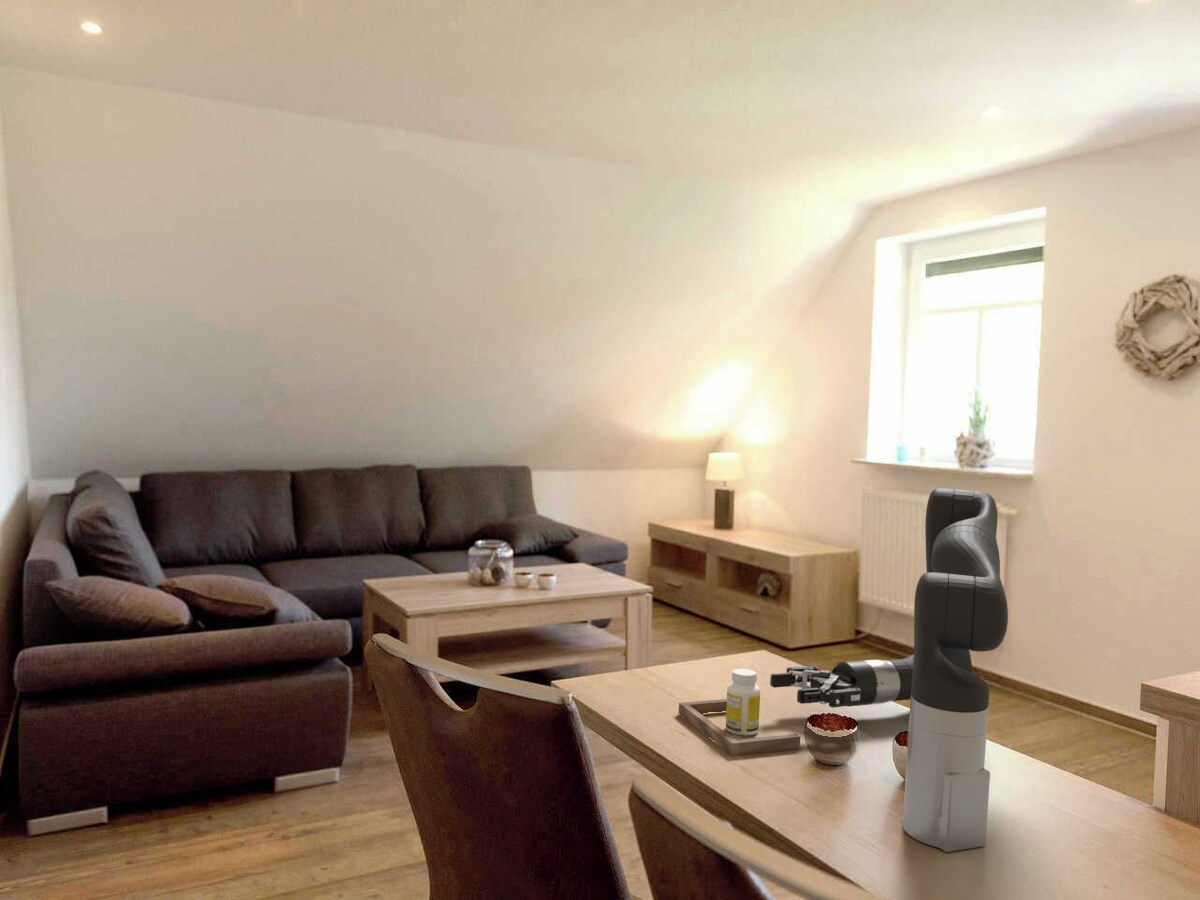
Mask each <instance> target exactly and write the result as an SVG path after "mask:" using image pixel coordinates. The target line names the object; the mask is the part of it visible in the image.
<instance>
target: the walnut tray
mask: <svg viewBox="0 0 1200 900" xmlns="http://www.w3.org/2000/svg"><path fill="white" fill-rule="evenodd" d="M726 705H727V698H721V699H713V700H712V699H710V700H699V701H698V700H697V701H688V702H687V701H686V702H678V715H679V714H680V715H681V716H682V717H684V718H683V719H684V720H685V719H686V720H687V721H686V720H685V721H686V722H687V723H689V724H690V723H691V724H692V725H691V724H690V725H691V726H693V727H694V728H695V727H696V728H697V730H698V731H699V730H700V731H701V732H700V731H699V732H700V733H702V732H703V733H704V734H705V735H707V736H708V737H710V738H711V739H712V740H714V741H715V742H716V743H717V744H718V745H719V746H720V747H719V746H718V745H717V744H716V743H715V744H716V745H717V746H718V747H719V748H720V749H722V750H723V749H724V750H725V752H726V753H727V754H728V755H729V756H731V757H738V756H745V755H746V756H747V755H755V754H757V755H758V754H765V753H774V752H775V753H776V752H784V751H785V752H786V751H793V750H794V751H795V750H800V749H801V736H800V735H799V734H797V733H790V734H781V735H780V734H779V735H773V736H772V735H771V736H770V735H769V736H762V737H761V736H760V737H751V738H742V739H741V738H740V739H735V738H734V737H732V736H731V735H730V734H728V733H727V732H725V731H724V730H723V729H721V728H720V727H719V726H718V725H716V724H715V723H714V722H713V721H711V720H709V719H708V718H707V717H706V716H704V715H702V714H703V713H708V712H722V711H726ZM680 715H679V716H680ZM681 716H680V717H681ZM682 717H681V718H682ZM696 728H695V729H696ZM703 733H702V734H703ZM704 734H703V735H704ZM705 735H704V736H705ZM707 736H706V737H707ZM708 737H707V738H708ZM712 740H711V741H712ZM724 750H723V751H724Z"/></svg>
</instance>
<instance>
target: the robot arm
mask: <svg viewBox="0 0 1200 900" xmlns="http://www.w3.org/2000/svg"><path fill="white" fill-rule="evenodd" d="M997 508H998V507H997V504H996V501H995V499H994V497H993V496H992V495H991V494H990V493H987V492H984V491H979V490H968V489H967V490H966V489H959V488H958V489H957V488H955V489H954V488H947V487H946V488H944V487H940V488H939V487H937V488H934V489H933V490H932V491H931V492H930V494H929V496H928V499H927V504H926V508H925V509H926V510H925V526H924V529H925V532H924V533H925V563H926V565H925V566H926V569H925V570H926V572H925V573H923V574H922V575H921V576H920V577H919V579H918V581H917V584H916V588H915V593H914V594H915V595H914V607H913V610H914V612H913V617H914V618H913V622H914V623H913V654H911V655H908V656H905V658H904V657H903V658H901V659H899V658H898V659H887V660H886V659H885V660H884V659H883V660H882V659H860V660H859V659H858V660H847V661H846V660H845V661H843V660H842V661H840V662H837V664H836V665H834V667H833V669H832V670H831V671H830V670H824V669H822V670H819V669H818V668H819V667H818V666H815V665H813V666H811V665H810V666H794V667H793V666H789V667H786V672H780V673H779V672H778V673H772V674H770V680H769V681H770V682H769V684H770V686H771V687H772V688H788V687H790V688H791V687H794V688H795V687H796V688H799V689H798V690H797V692H796V694H797V695H796V701H797V703H799V704H801V705H802V704H813V703H814V704H815V703H819V704H822V705H827V704H828V707H830V708H833V709H834V708H841V707H857V706H858V707H859V706H860V707H861V706H869V705H880V704H885V703H889V702H900V701H910V703H909V704H910V705H909V718H908V734H907V735H908V736H907V746H906V747H907V748H906V749H907V750H906V762H905V763H906V767H905V768H906V769H905V781H904V798H903V813H902V814H903V815H902V817H903V818H902V829H903V830H904V832H905V833H907V834H908V836H910V837H911V838H913V839H915V840H916V841H918V842H921V843H923V844H926V845H928V846H932V847H935V848H939V849H941V850H943V852H945V853H949V852H955V851H962V850H968V849H973V848H980V847H985V846H986V841H987V840H986V838H987V824H988V813H989V812H988V811H989V809H988V808H989V795H990V794H989V793H990V781H991V773H990V771H989V770H988V769H986V768H985V763H986V762H985V759H986V746H987V734H988V733H987V732H988V720H989V717H988V716H989V705H990V703H989V702H990V686H989V685H988V683H987V682H986V681H985V680H984V679H983V678H982V677H979V676H978V675H976V674H974V670H973V664H972V658H971V652H989V651H990V652H991V651H994V650H995V649H997V648H999V646H1000V645H1001V644H1002V643H1003V641H1004V639H1005V636H1006V633H1007V631H1008V630H1007V629H1008V625H1009V624H1008V622H1009V610H1008V609H1009V607H1008V601H1007V596H1006V591H1005V588H1004V586H1003V582H1002V580H1001V575H1000V574H1001V560H1000V552H999V551H1000V550H999V547H998V540H997V529H998V517H999V515H998V509H997ZM970 651H971V652H970ZM808 683H810V684H809V685H810V686H809V685H808Z"/></svg>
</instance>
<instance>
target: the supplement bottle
mask: <svg viewBox="0 0 1200 900" xmlns="http://www.w3.org/2000/svg"><path fill="white" fill-rule="evenodd" d="M757 674H758V673H757V672H756V671H754V669H750V668H749V669H748V668H735V669H733V670H732V672H731V680H732V682H729V684H728V685H727V687H726V688H727V690H726V699H727V705H726V713H725V730H726V731H727V732H729V733H730V732H731V733H730V734H733V735H737V736H746V737H747V736H753V735H756V734H758V732H759V730H760V729H759V727H760V710H761V709H760V705H761V689H760V687H759V686H758V685H757V684H756V682H757V680H758V679H757V678H758V677H757V676H758V675H757Z"/></svg>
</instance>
